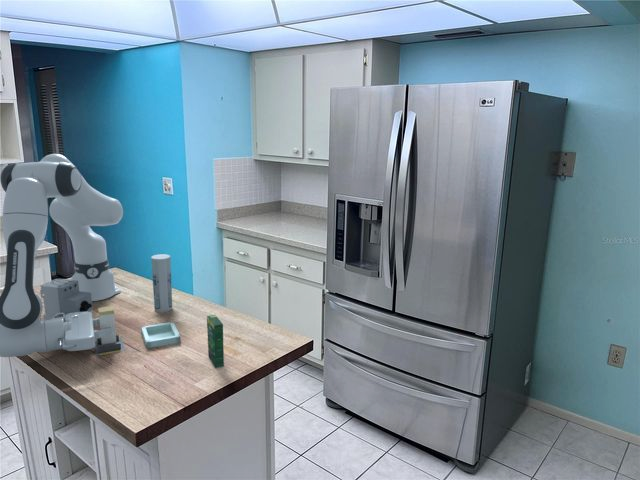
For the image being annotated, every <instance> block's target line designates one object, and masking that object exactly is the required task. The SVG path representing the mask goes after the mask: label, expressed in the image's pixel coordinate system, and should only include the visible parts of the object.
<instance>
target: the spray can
mask: <svg viewBox="0 0 640 480" xmlns="http://www.w3.org/2000/svg"><path fill="white" fill-rule="evenodd" d="M150 258H151V260H150V261H151V272H152V274H151V275H152V288H153V289H152V290H153V303H154V304H153V305H154V311H156V312H159V313H166V312H169V311H172V309H173V291H172V288H173V287H172V268H171V267H172V266H171V265H172V264H171V263H172V262H171V255H170V254H166V253H165V254H161V253H160V254H159V253H158V254H154V255H152V256H151V257H150Z"/></svg>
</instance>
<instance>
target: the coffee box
mask: <svg viewBox="0 0 640 480" xmlns="http://www.w3.org/2000/svg"><path fill="white" fill-rule="evenodd" d="M206 327H207V328H206V329H207V331H206V332H207V351H208V353H207V354H208V358H209V359H210V361H211V364H212V365H213V367H214V368H215V369H218V368H219V369H220V368H223V367H224V366H225V360H224V359H225V358H224V356H225V354H224V323H223V322H222V321H221V320H220V318H219V317H218V316H217V315H216V314H211V315H210V314H209V315H207V316H206Z"/></svg>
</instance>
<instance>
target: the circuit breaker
mask: <svg viewBox="0 0 640 480" xmlns="http://www.w3.org/2000/svg"><path fill="white" fill-rule="evenodd" d="M39 288H40V290H39V293H40V294H39V295H40V299H42V300H43V304H44V305H43V306H44V315H42V319H43V320H42V321H45V320H50V319H52V318H53V317H54V316H55V315H56V314H58V313H64V314H65V315H66V314H68V313H75V312H91V313H92V315H93V314H94V311H93V301H92V298H91V293H90V292H81V291H79V284H78V281H77V280H71V279H66V278H59V277H58V278H55V279H53V280H51V281H48V282H45V283H43V284H41V285H40V287H39Z"/></svg>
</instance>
